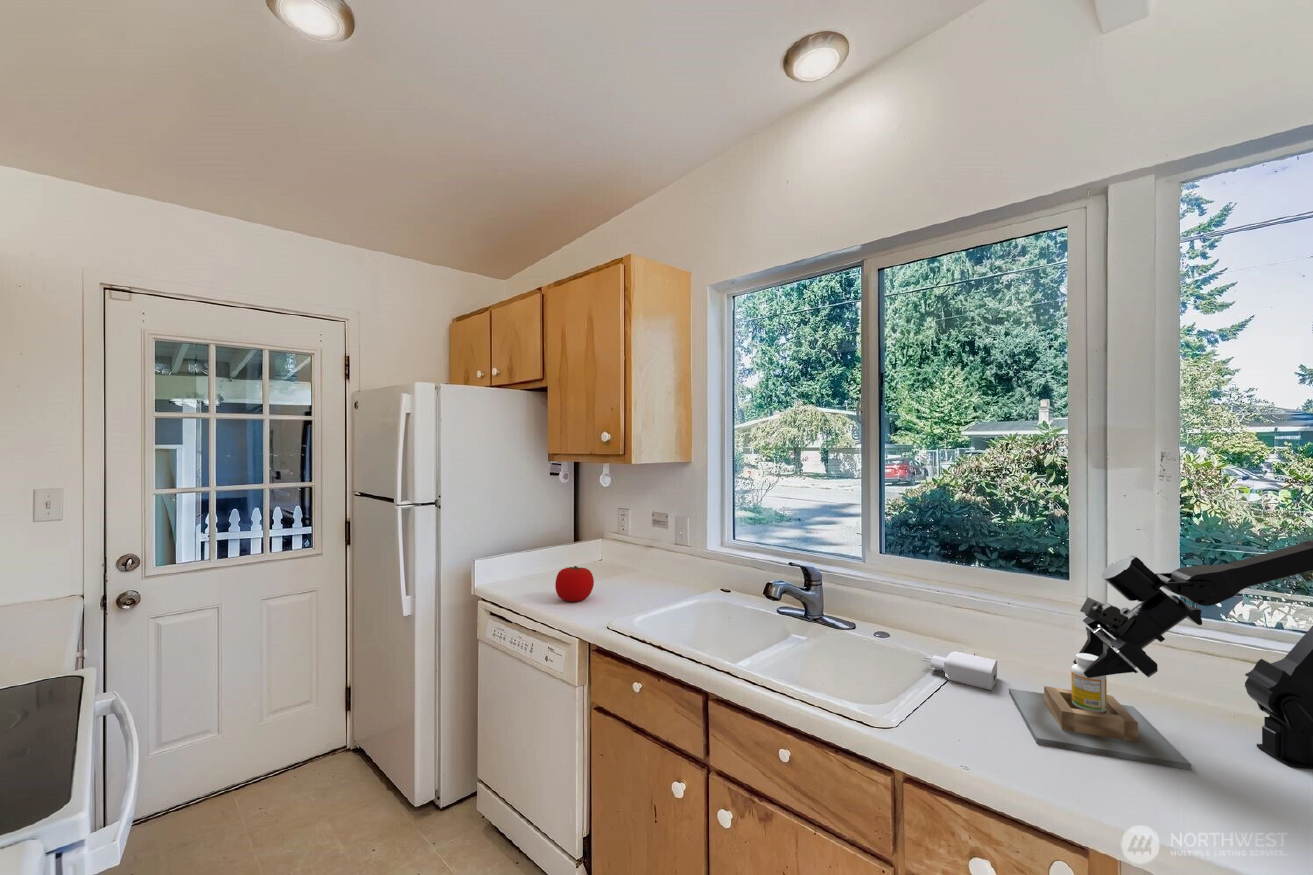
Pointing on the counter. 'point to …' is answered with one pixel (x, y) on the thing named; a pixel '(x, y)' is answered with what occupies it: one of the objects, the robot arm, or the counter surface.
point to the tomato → (574, 583)
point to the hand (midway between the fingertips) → (1080, 669)
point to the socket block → (1094, 728)
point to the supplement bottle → (1088, 686)
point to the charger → (967, 669)
